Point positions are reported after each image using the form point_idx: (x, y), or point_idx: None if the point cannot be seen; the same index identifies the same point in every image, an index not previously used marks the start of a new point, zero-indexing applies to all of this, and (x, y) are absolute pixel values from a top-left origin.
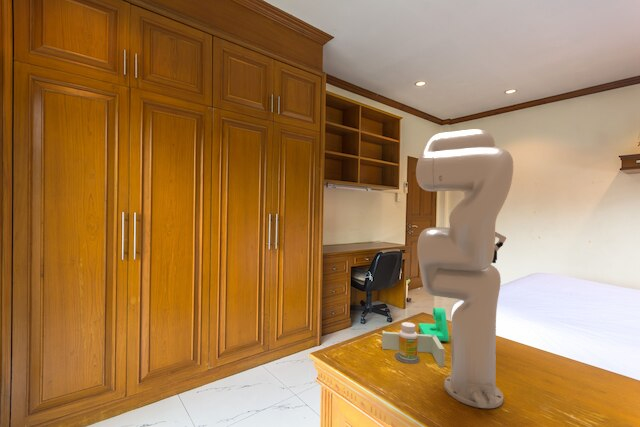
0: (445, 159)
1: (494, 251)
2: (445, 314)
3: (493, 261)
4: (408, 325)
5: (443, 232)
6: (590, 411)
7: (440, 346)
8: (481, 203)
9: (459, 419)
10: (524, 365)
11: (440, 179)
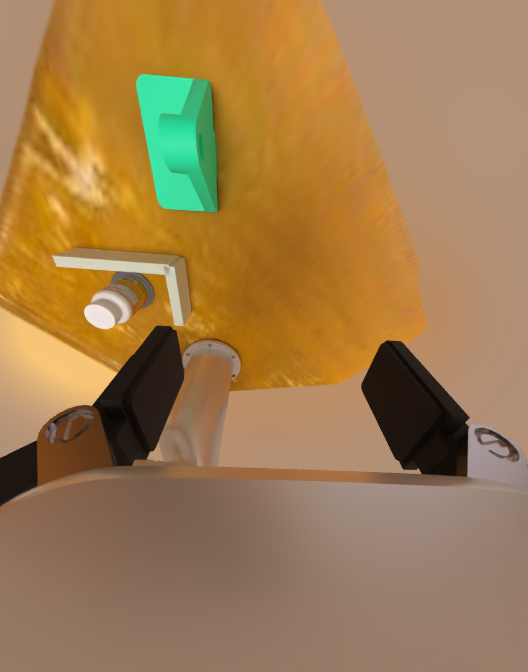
0: None
1: (402, 462)
2: (201, 173)
3: (365, 393)
4: (101, 322)
5: None
6: (314, 376)
7: (177, 317)
8: None
9: None
10: (320, 294)
11: None
